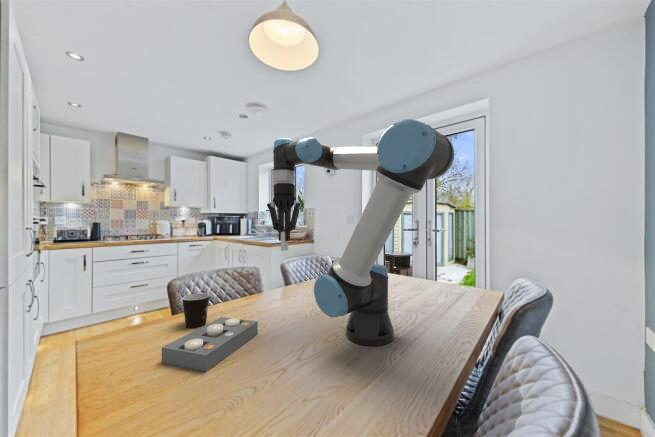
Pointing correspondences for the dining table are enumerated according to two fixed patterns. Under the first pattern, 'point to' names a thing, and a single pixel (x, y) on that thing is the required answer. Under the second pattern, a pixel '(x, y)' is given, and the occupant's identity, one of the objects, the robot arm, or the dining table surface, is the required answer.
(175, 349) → the button board
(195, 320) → the coffee mug
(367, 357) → the dining table surface
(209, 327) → the button
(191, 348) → the button
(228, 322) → the button
